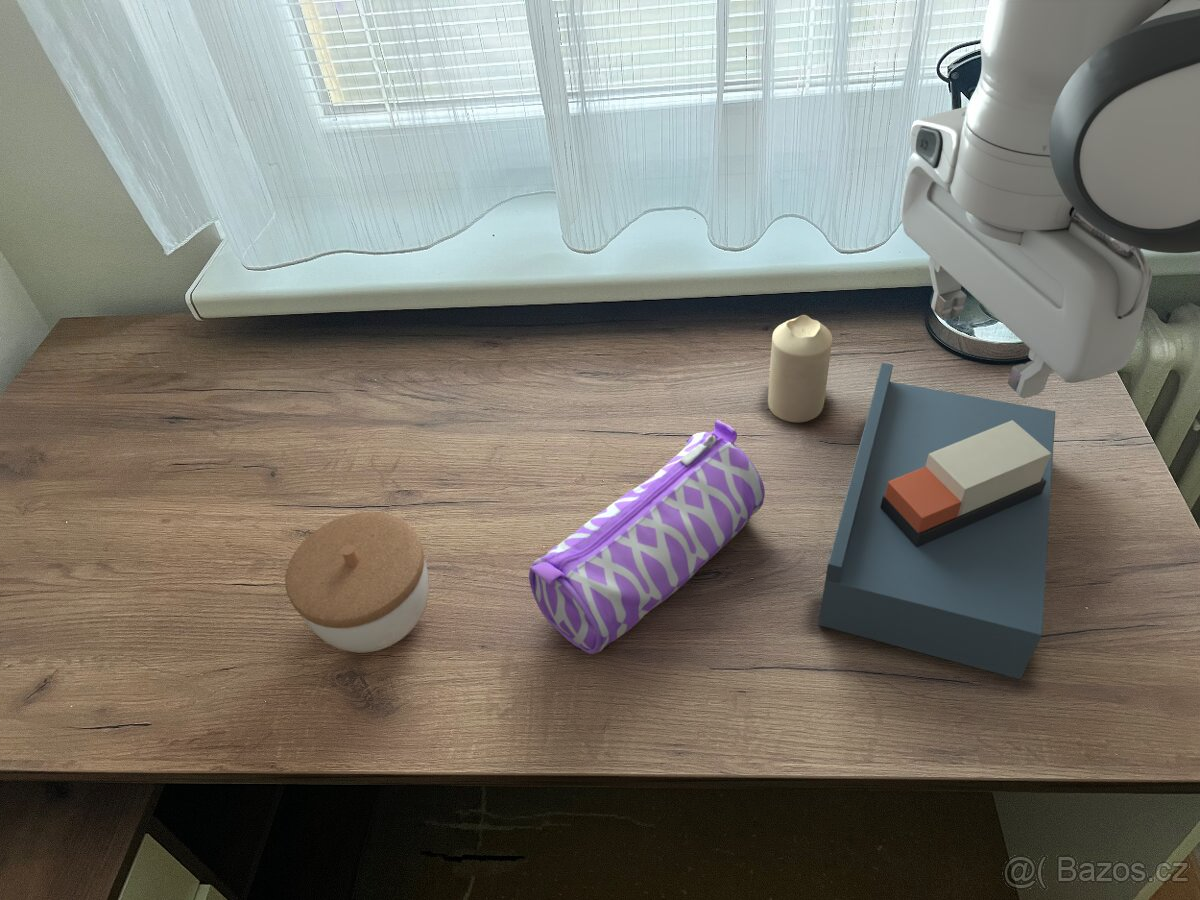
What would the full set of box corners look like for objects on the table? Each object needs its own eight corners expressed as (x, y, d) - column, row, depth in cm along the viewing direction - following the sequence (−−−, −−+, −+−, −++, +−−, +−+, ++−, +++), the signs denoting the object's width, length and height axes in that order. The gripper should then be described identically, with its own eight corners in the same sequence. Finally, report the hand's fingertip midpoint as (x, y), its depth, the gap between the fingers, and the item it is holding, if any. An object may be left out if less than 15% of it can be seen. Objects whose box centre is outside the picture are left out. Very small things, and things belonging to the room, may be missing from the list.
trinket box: (468, 599, 74) (445, 529, 68) (382, 698, 68) (347, 631, 62) (377, 550, 79) (347, 480, 72) (288, 638, 73) (247, 570, 66)
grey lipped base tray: (1037, 458, 80) (1062, 393, 75) (1020, 680, 65) (1050, 619, 59) (869, 426, 85) (881, 362, 79) (817, 625, 70) (828, 564, 64)
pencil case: (693, 470, 83) (692, 395, 76) (775, 517, 78) (781, 442, 71) (524, 622, 72) (506, 551, 66) (606, 688, 67) (596, 618, 61)
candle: (764, 420, 87) (770, 340, 80) (770, 384, 90) (776, 304, 83) (821, 425, 85) (832, 345, 78) (825, 388, 89) (835, 309, 82)
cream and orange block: (1001, 457, 73) (1015, 416, 69) (1042, 494, 70) (1059, 452, 66) (879, 507, 70) (888, 467, 67) (916, 548, 67) (927, 507, 64)
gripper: (1211, 240, 46) (1124, 432, 55) (981, 94, 60) (944, 266, 70) (1105, 269, 45) (1035, 458, 54) (897, 113, 59) (872, 285, 69)
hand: (983, 349), depth 62 cm, fingers open, 8 cm apart
